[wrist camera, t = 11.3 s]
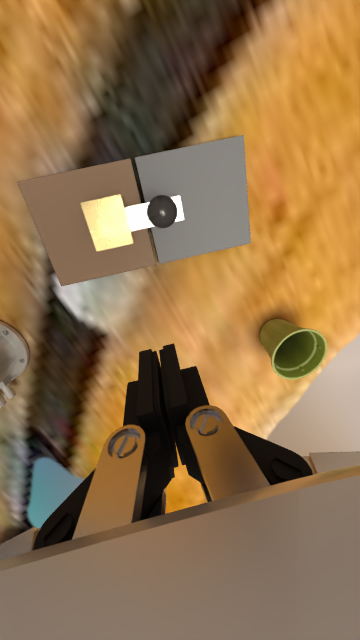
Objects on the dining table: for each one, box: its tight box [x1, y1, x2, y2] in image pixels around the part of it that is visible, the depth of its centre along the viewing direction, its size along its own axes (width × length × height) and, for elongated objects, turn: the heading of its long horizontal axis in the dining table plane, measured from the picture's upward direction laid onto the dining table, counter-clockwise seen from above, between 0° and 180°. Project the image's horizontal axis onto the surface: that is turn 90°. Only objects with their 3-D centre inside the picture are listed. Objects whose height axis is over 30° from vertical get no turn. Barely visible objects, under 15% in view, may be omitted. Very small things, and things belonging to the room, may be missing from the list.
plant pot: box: [260, 319, 327, 379], centre depth 42 cm, size 9×9×9 cm
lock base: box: [17, 135, 251, 286], centre depth 34 cm, size 14×30×2 cm, turn 101°
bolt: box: [125, 195, 184, 231], centre depth 31 cm, size 4×12×6 cm, turn 101°
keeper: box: [80, 194, 135, 251], centre depth 32 cm, size 6×5×4 cm
